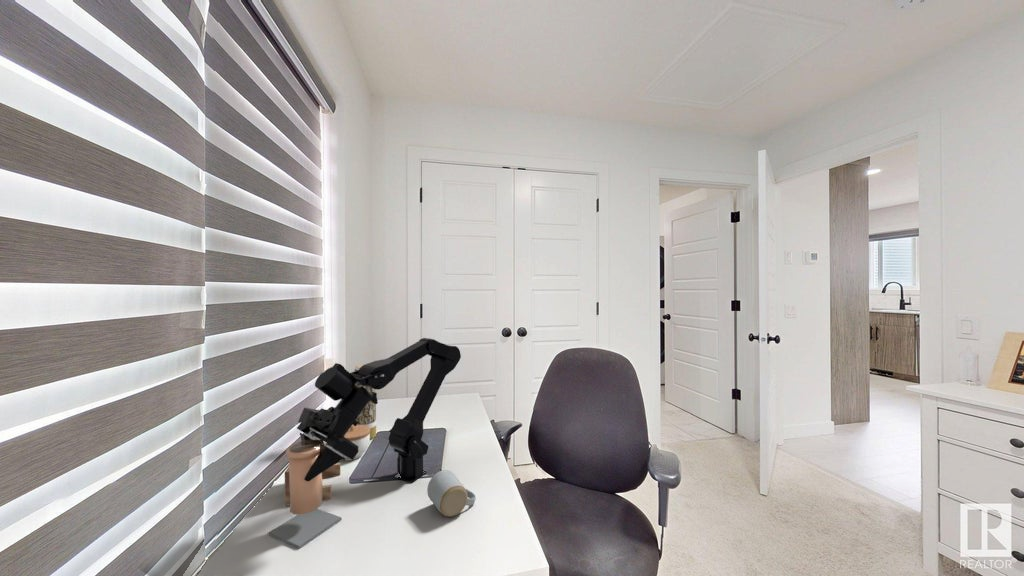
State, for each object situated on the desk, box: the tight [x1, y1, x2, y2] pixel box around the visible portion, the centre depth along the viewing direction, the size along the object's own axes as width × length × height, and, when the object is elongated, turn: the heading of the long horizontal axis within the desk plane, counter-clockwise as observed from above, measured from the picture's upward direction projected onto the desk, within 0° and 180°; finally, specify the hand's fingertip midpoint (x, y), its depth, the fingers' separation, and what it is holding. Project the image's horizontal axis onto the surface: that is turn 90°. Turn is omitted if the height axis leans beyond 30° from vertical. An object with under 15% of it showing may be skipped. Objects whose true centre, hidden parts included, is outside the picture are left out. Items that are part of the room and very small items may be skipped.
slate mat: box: [267, 508, 342, 550], centre depth 80 cm, size 10×10×1 cm
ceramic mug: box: [426, 469, 477, 518], centre depth 87 cm, size 11×8×8 cm
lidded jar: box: [343, 425, 371, 461], centre depth 114 cm, size 11×11×9 cm
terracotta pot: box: [285, 440, 325, 515], centre depth 80 cm, size 7×7×13 cm
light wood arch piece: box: [284, 462, 342, 506], centre depth 96 cm, size 10×13×8 cm
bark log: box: [354, 364, 377, 440], centre depth 128 cm, size 7×7×25 cm
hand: (299, 475), depth 79 cm, fingers closed on terracotta pot, 6 cm apart
